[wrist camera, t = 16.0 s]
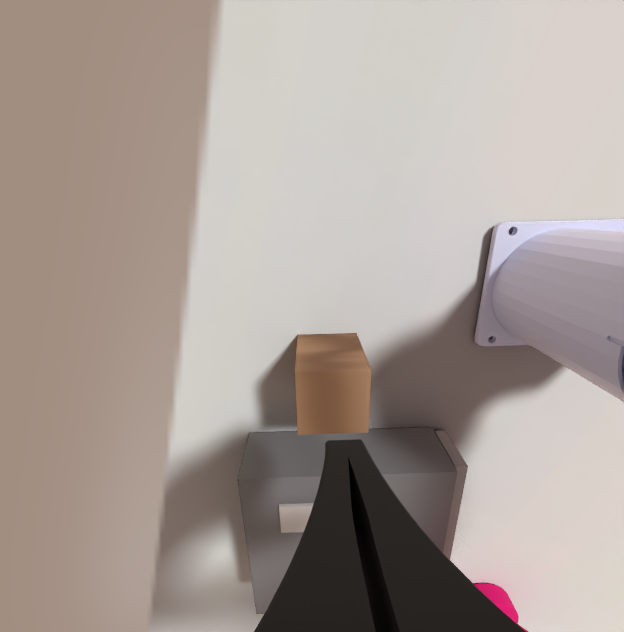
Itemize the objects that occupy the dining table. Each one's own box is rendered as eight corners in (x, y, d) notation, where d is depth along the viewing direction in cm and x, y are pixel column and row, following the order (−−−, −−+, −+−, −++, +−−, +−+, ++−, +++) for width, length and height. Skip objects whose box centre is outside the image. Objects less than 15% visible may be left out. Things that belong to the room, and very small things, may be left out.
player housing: (431, 426, 23) (459, 474, 19) (415, 550, 28) (434, 610, 23) (249, 432, 23) (236, 481, 19) (263, 555, 28) (256, 617, 23)
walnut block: (356, 333, 20) (371, 370, 16) (355, 384, 22) (368, 432, 17) (297, 335, 20) (294, 372, 16) (299, 385, 22) (297, 434, 17)
